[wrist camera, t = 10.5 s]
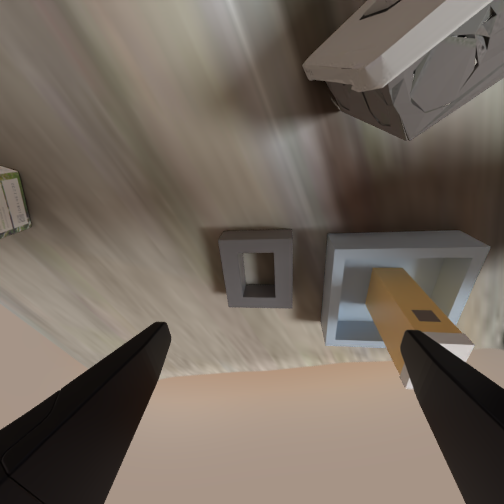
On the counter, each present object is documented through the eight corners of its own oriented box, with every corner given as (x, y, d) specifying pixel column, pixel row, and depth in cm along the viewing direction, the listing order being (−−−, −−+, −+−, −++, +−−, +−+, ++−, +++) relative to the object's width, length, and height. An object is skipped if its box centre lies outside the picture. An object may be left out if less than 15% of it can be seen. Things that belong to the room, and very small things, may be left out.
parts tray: (459, 230, 18) (490, 246, 15) (425, 324, 22) (444, 350, 20) (327, 233, 19) (334, 249, 16) (320, 321, 24) (325, 345, 21)
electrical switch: (463, -92, 11) (975, -627, 3) (488, 22, 13) (838, -120, 5) (298, 67, 14) (333, 13, 7) (337, 137, 16) (401, 161, 8)
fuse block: (291, 229, 19) (292, 238, 18) (291, 294, 22) (292, 308, 21) (223, 231, 20) (218, 240, 18) (232, 294, 23) (228, 307, 22)
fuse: (403, 267, 19) (474, 345, 12) (392, 305, 21) (449, 391, 14) (372, 267, 19) (423, 342, 12) (364, 304, 21) (405, 388, 14)
